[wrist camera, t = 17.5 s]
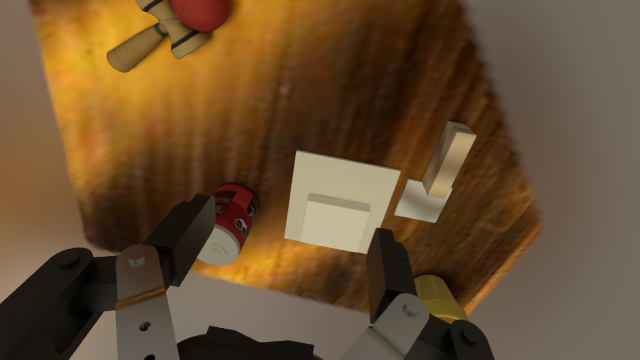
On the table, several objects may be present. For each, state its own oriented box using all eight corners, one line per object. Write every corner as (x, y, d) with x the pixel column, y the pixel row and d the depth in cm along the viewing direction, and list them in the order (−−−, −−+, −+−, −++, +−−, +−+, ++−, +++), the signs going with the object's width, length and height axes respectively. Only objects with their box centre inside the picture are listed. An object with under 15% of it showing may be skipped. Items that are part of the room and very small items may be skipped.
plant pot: (397, 301, 59) (405, 349, 51) (402, 266, 54) (411, 314, 46) (448, 303, 58) (465, 352, 50) (459, 268, 53) (479, 317, 45)
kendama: (157, 88, 42) (251, 26, 34) (118, 94, 36) (220, 22, 29) (125, 34, 39) (218, -45, 32) (78, 33, 34) (177, -63, 26)
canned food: (249, 225, 52) (227, 273, 43) (208, 205, 50) (176, 250, 41) (267, 197, 48) (247, 243, 39) (224, 174, 47) (192, 216, 37)
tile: (307, 200, 45) (300, 241, 50) (369, 212, 45) (356, 252, 50) (309, 193, 47) (301, 233, 51) (369, 204, 47) (356, 244, 51)
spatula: (431, 117, 39) (439, 128, 36) (481, 127, 39) (494, 139, 36) (393, 212, 48) (397, 228, 44) (434, 220, 48) (440, 236, 44)
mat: (297, 149, 43) (296, 151, 43) (400, 169, 43) (400, 171, 43) (284, 236, 53) (284, 238, 52) (369, 252, 53) (369, 254, 52)
